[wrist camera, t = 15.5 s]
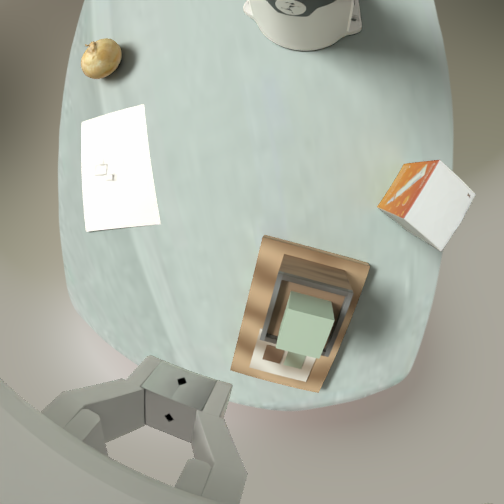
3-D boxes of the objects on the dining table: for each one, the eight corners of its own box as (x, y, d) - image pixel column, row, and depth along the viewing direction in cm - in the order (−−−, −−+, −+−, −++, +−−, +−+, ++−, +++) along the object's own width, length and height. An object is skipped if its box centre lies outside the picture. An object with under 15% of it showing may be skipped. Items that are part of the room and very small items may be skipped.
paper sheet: (85, 110, 44) (82, 109, 43) (232, 91, 40) (231, 89, 39) (82, 230, 50) (79, 231, 49) (225, 240, 46) (224, 241, 45)
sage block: (290, 290, 34) (288, 308, 29) (331, 301, 34) (334, 320, 29) (279, 326, 35) (275, 347, 31) (318, 336, 35) (319, 358, 30)
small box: (403, 162, 37) (440, 157, 25) (434, 188, 37) (478, 194, 24) (375, 207, 39) (402, 219, 27) (406, 232, 39) (442, 253, 27)
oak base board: (264, 234, 43) (250, 252, 33) (367, 262, 41) (385, 288, 31) (233, 363, 50) (215, 403, 39) (318, 385, 48) (318, 428, 38)
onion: (133, 60, 40) (111, 47, 33) (103, 90, 42) (78, 82, 35) (117, 37, 39) (96, 25, 32) (89, 66, 41) (66, 57, 35)
